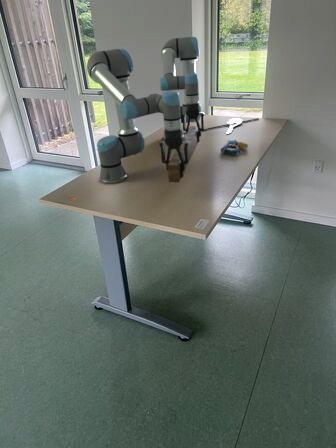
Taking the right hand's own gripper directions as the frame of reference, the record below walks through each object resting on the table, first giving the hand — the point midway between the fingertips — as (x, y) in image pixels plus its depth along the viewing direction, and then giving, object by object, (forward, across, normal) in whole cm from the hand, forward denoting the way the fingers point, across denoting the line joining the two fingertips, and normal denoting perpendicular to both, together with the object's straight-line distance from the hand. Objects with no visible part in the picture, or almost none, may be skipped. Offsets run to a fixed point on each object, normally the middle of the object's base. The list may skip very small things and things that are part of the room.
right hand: (194, 141), depth 206 cm
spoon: (+10, +18, +65) cm, 69 cm away
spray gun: (+10, +24, +12) cm, 29 cm away
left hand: (-1, +1, -54) cm, 54 cm away
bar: (0, 0, -27) cm, 27 cm away
